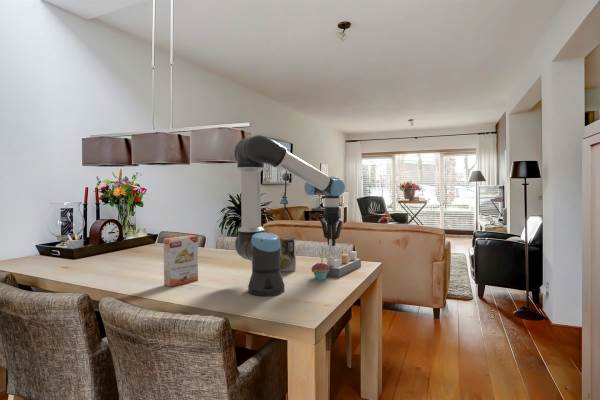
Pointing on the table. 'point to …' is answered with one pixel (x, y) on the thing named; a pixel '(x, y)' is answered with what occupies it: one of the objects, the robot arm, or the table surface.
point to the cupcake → (320, 270)
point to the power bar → (343, 267)
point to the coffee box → (287, 254)
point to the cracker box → (180, 260)
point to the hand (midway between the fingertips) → (331, 251)
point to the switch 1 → (330, 261)
